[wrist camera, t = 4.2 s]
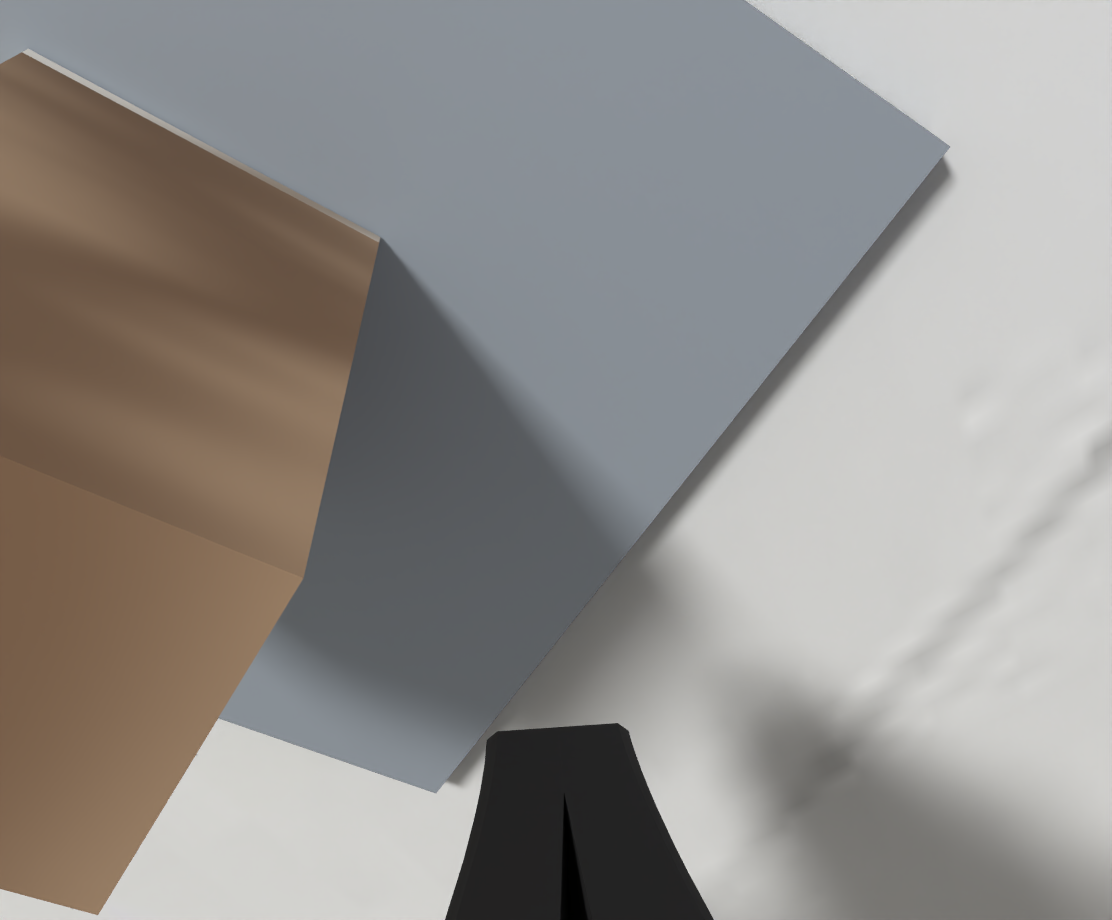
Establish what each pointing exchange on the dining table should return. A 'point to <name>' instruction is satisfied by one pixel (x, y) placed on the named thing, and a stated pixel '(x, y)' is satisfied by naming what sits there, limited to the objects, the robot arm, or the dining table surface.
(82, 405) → the walnut block
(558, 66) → the light grey mat
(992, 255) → the dining table surface
